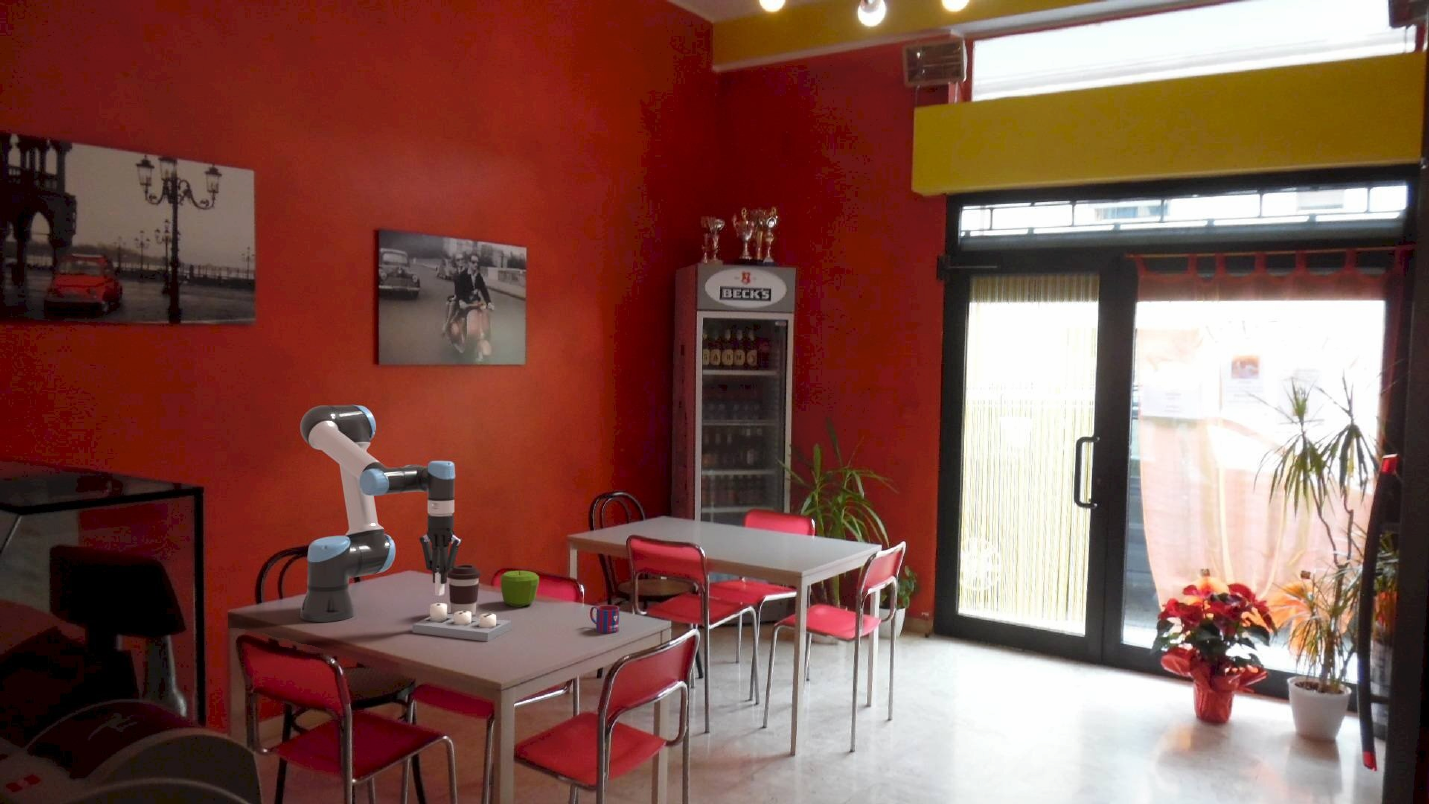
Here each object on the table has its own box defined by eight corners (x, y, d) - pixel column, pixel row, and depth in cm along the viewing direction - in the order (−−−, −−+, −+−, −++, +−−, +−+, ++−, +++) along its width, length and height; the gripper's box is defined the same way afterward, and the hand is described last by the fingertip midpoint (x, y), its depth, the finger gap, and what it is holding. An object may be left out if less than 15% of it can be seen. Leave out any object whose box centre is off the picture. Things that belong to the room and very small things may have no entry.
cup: (606, 634, 285) (607, 611, 285) (583, 628, 291) (584, 605, 291) (623, 630, 290) (624, 607, 290) (600, 624, 296) (601, 601, 296)
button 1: (426, 621, 284) (426, 605, 284) (435, 617, 289) (435, 601, 289) (441, 622, 283) (441, 606, 283) (449, 619, 288) (450, 603, 287)
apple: (544, 606, 315) (545, 571, 315) (508, 610, 308) (509, 575, 308) (528, 598, 326) (529, 564, 325) (493, 602, 319) (494, 567, 318)
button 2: (450, 629, 282) (451, 613, 282) (459, 625, 287) (459, 609, 287) (465, 630, 281) (466, 614, 281) (474, 626, 285) (474, 610, 285)
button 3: (475, 632, 280) (476, 615, 280) (483, 627, 285) (484, 611, 284) (490, 633, 279) (491, 617, 279) (498, 629, 283) (499, 613, 283)
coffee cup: (486, 614, 303) (487, 566, 303) (462, 620, 295) (463, 571, 294) (463, 609, 308) (465, 562, 308) (439, 615, 300) (440, 566, 300)
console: (412, 632, 280) (412, 624, 280) (438, 620, 294) (439, 612, 294) (487, 641, 274) (487, 632, 274) (511, 629, 287) (511, 620, 287)
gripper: (413, 514, 283) (412, 595, 284) (454, 517, 279) (452, 599, 280) (428, 511, 290) (427, 590, 291) (467, 513, 287) (466, 593, 287)
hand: (439, 594), depth 285 cm, fingers closed
